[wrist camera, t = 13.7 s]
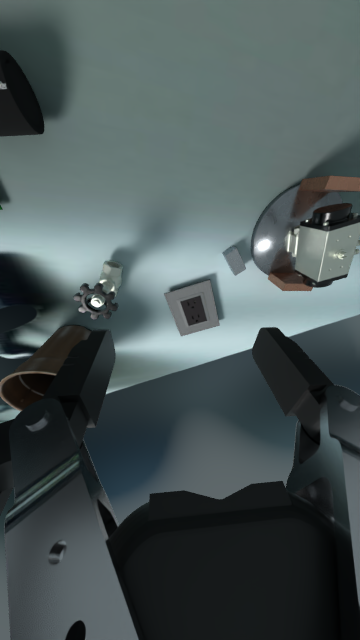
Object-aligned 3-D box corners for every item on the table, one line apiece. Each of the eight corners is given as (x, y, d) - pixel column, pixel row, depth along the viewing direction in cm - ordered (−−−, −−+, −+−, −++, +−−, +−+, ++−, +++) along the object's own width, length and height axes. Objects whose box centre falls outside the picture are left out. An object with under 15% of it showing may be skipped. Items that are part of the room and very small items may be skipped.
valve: (132, 266, 37) (121, 291, 27) (125, 293, 40) (113, 324, 30) (99, 255, 35) (74, 278, 25) (95, 284, 38) (72, 314, 29)
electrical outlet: (217, 320, 47) (219, 326, 45) (180, 331, 48) (181, 337, 47) (207, 276, 40) (210, 280, 38) (164, 290, 41) (164, 294, 39)
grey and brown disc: (266, 177, 30) (293, 173, 24) (356, 183, 31) (403, 180, 25) (241, 276, 40) (255, 290, 34) (310, 277, 42) (336, 291, 35)
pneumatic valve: (280, 270, 38) (320, 295, 29) (284, 209, 32) (338, 215, 22) (306, 263, 38) (356, 286, 28) (316, 199, 31) (385, 201, 21)
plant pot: (121, 355, 51) (106, 410, 38) (71, 368, 53) (40, 425, 40) (91, 310, 42) (58, 362, 29) (31, 327, 43) (-27, 384, 30)
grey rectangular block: (221, 252, 37) (225, 255, 35) (232, 245, 36) (236, 248, 34) (231, 271, 39) (235, 275, 37) (241, 265, 39) (246, 268, 37)
